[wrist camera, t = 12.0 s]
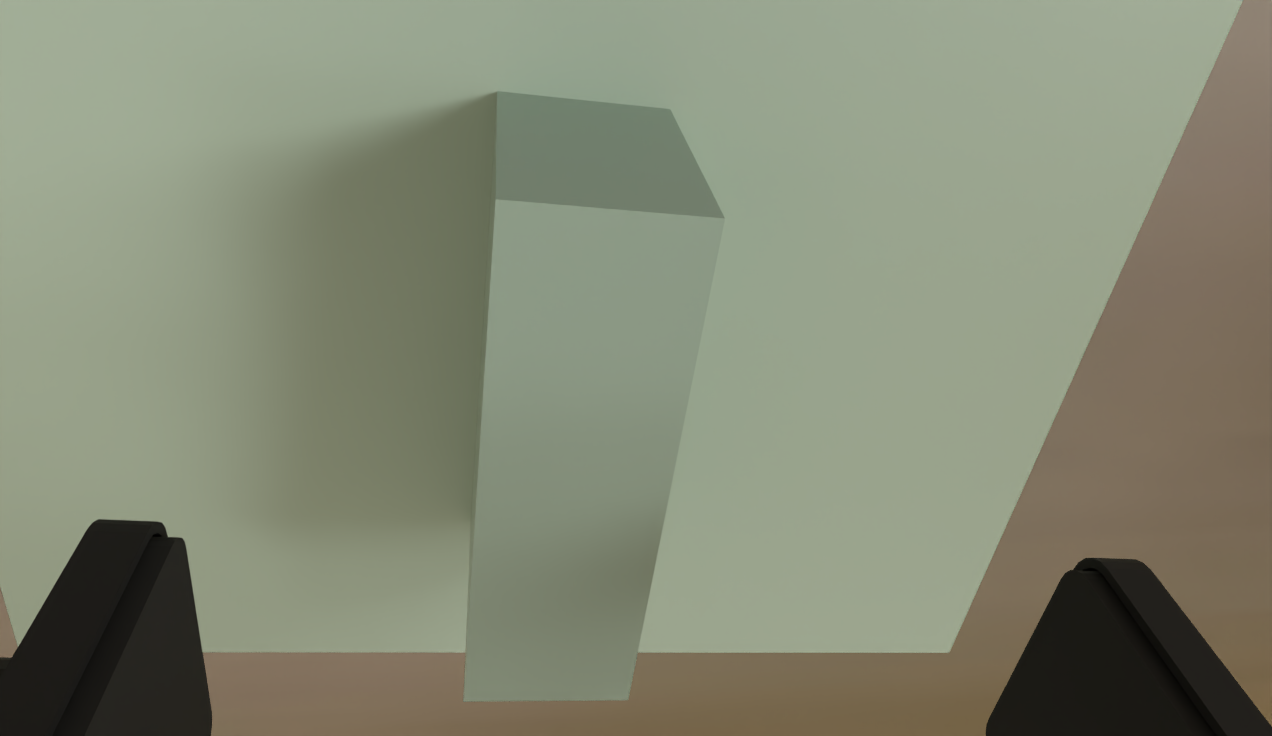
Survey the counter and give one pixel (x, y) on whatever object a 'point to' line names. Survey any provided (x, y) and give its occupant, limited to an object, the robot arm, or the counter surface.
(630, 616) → the lid
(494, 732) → the counter surface
